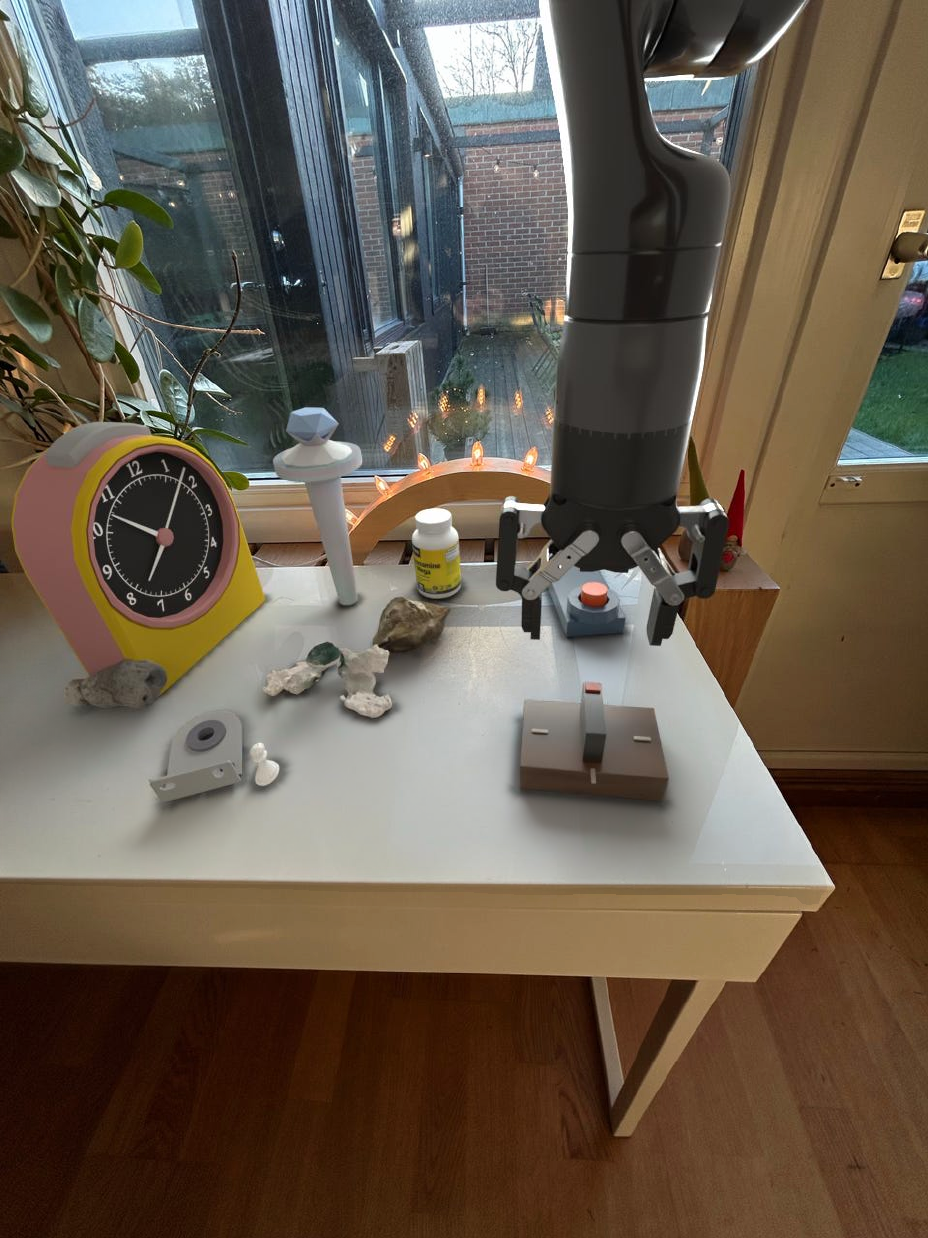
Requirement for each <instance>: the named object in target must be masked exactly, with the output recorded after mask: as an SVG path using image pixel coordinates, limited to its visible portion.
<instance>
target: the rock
mask: <svg viewBox="0 0 928 1238" xmlns="http://www.w3.org/2000/svg"><path fill="white" fill-rule="evenodd" d="M372 646H373V645H372ZM372 646H371V647H370V648H368V649H365V650H362V651H359V652H358V653H355V652H353V651H351V650H350V649H349V648H340V647H339V646H338V645H337V646H336V645H334V643H332V642H330V641H324V642H322V643H319V644H316V645H314V647H312V648H311V649H310V651H308V654H307V655H306V658H305V660H304V661H298V662H296V663H295V666H294V667H291V668H285V669H281V670H278V671H276V670H274V669H271V670H270V673H268V674H267V676H266V678H265V684H266V686H263V687H262V691H263V692H264V693H265V694H267V695H268V696H271V697H275V696H277V695H278V694H280V693H281V692H282V691H283V690H286V691H287V692H288V691H289V692H290V693H291V694H293V695H295V694H296V695H299V694H301V692H304V691H305V689H310V688H311V687H312V686H313V685H314V684H316V683H318V682H319V681H320V679H321V678H322V674H323V673H322V672H323V671H326V670H327V669H328V668H329V667H331V666H332V667H333V666H334V665H335V664H337V666H336V667H337V675H338V676H339V677H340V678H341V679H343V680H344V682H345V683H344V689H345V691H346V692H347V694H348V695H347V696H346V697H345V695H344V694H343V695H340V696H339V700H340V701H342V702H343V705H344V706H345V708H347V709H350V710H352V711H354V712H357V714H358V715H360V716H364V717H369V718H372V719H373V718H374V719H375V718H378V717H380V716H382V715H383V714H384V713H385V711H388V710H390V709H391V708H392V706H393V702H392V700H391V699H392V698H391V697H390V695H389V694H388V693H385V695H383V696H382V695H381V696H378V695H376V693H375V692H374V688H375V686H376V683H377V679H376V676H375V674H374V673H379V674H383V673H384V672H385V668H386V666H387V664H388V661H389V656H390V652H389V651H388V650H384V649H381V648H379V647H378V646H377V644H376V645H374V646H373V647H372Z"/></svg>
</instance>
